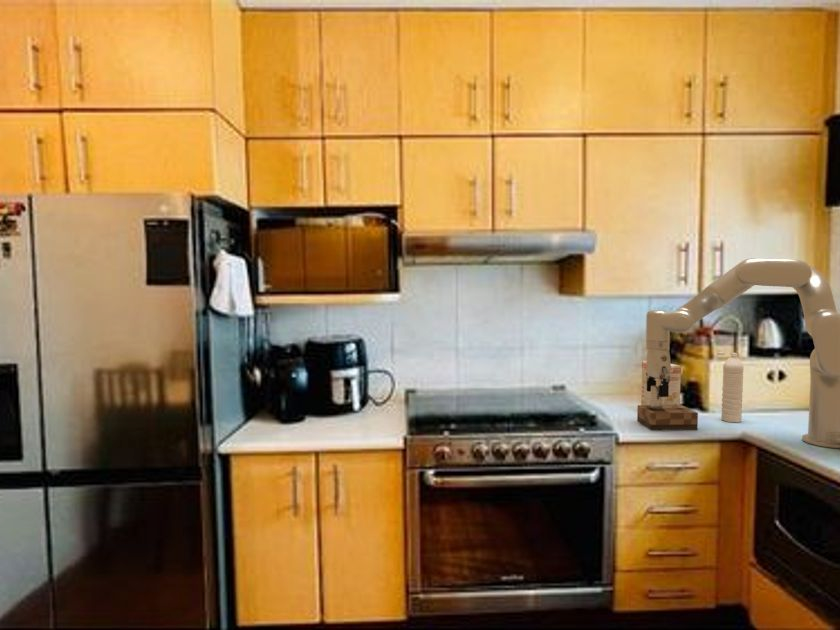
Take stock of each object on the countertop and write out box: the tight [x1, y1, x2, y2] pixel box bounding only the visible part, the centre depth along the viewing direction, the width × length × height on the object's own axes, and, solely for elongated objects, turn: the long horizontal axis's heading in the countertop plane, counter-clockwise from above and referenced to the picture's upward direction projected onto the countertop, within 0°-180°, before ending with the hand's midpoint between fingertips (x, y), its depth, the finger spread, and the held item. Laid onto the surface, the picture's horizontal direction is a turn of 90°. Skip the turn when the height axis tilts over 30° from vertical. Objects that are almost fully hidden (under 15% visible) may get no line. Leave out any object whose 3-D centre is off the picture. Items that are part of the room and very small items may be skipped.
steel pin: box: [650, 385, 663, 411], centre depth 203 cm, size 4×4×12 cm
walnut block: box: [636, 404, 699, 431], centre depth 203 cm, size 12×16×6 cm
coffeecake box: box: [640, 360, 682, 405], centre depth 222 cm, size 15×7×20 cm, turn 12°
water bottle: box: [716, 351, 744, 423], centre depth 210 cm, size 9×6×25 cm
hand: (657, 393), depth 202 cm, fingers open, 9 cm apart
